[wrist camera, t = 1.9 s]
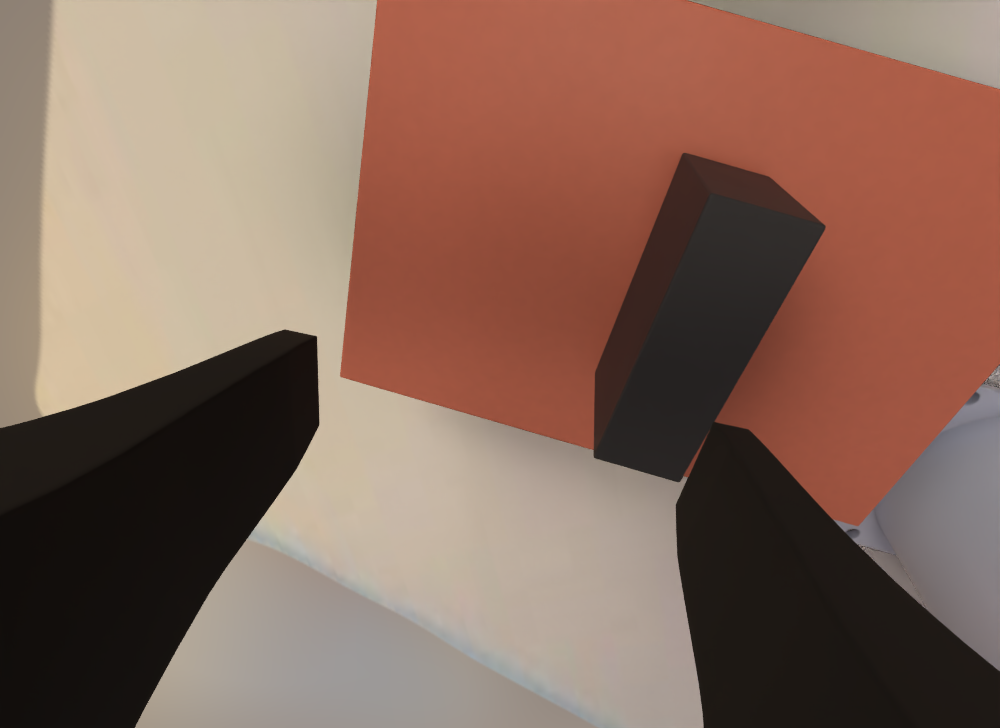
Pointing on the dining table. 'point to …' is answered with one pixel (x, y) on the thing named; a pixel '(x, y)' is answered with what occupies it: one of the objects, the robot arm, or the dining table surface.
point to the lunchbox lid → (675, 235)
